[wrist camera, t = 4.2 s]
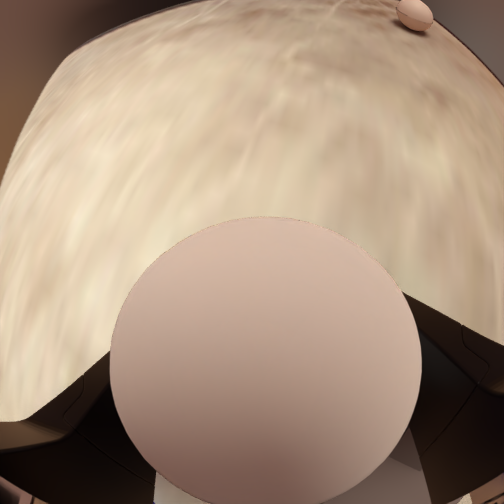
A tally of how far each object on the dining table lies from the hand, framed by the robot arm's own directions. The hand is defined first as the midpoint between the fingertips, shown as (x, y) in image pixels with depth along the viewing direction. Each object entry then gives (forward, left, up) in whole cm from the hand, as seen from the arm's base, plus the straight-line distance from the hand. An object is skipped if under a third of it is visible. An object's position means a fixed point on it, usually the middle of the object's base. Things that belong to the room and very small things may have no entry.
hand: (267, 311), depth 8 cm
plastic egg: (+42, +5, -7) cm, 43 cm away
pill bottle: (-1, -1, -7) cm, 7 cm away
